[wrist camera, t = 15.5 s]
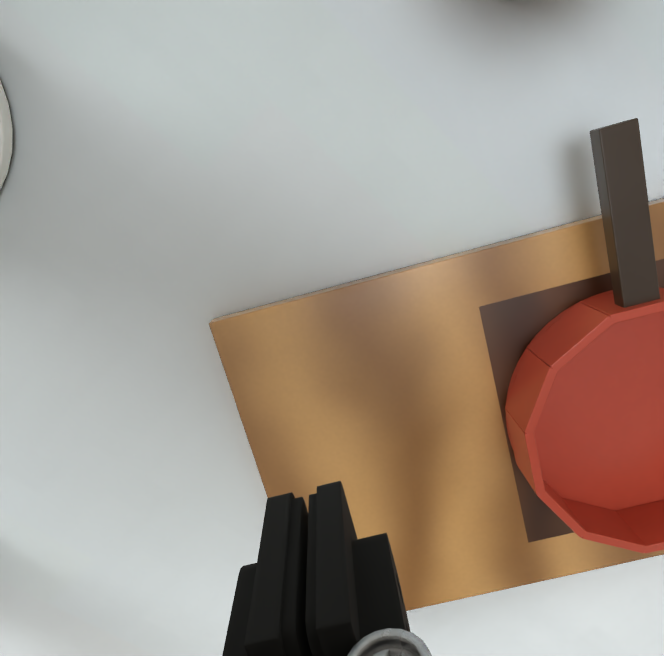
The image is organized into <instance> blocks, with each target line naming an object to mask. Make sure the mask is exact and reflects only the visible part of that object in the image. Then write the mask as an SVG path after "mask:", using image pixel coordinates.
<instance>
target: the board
mask: <svg viewBox="0 0 664 656" xmlns="http://www.w3.org/2000/svg"><path fill="white" fill-rule="evenodd" d="M648 204H649V212H650V220H651V228H652V236H653V245H654V253H655V261H656V269H657V277H658V285H659V287H661V288H664V198H662V199H658V200H655V201H651V202H648ZM610 290H613V289H612V282H611V275H610V268H609V261H608V254H607V248H606V241H605V234H604V227H603V220H602V215H599V216H595V217H591V218H587V219H584V220H580V221H576V222H572V223H569V224H565V225H561V226H558V227H554V228H550V229H546V230H543V231H539V232H535V233H531V234H528V235H524V236H520V237H517V238H513V239H509V240H505V241H502V242H498V243H494V244H490V245H487V246H483V247H479V248H475V249H472V250H468V251H464V252H461V253H457V254H453V255H449V256H446V257H442V258H438V259H434V260H431V261H427V262H423V263H420V264H416V265H412V266H408V267H405V268H401V269H397V270H393V271H390V272H386V273H382V274H378V275H375V276H371V277H367V278H364V279H360V280H356V281H352V282H349V283H345V284H341V285H337V286H334V287H330V288H326V289H322V290H319V291H315V292H311V293H308V294H304V295H300V296H296V297H293V298H289V299H285V300H281V301H278V302H274V303H270V304H267V305H263V306H259V307H255V308H252V309H248V310H244V311H240V312H237V313H233V314H229V315H225V316H222V317H218V318H214V319H213V320H212V321H211V322H210V323H209V326H210V329H211V332H212V334H213V337H214V340H215V343H216V346H217V349H218V352H219V355H220V358H221V361H222V364H223V367H224V370H225V373H226V376H227V379H228V382H229V385H230V388H231V391H232V393H233V396H234V399H235V402H236V405H237V408H238V411H239V414H240V417H241V420H242V423H243V426H244V429H245V432H246V435H247V438H248V441H249V444H250V447H251V450H252V452H253V455H254V458H255V461H256V464H257V467H258V470H259V473H260V476H261V479H262V482H263V485H264V488H265V491H266V494H267V497H268V498H270V497H274V496H278V495H282V494H287V493H291V492H292V493H293V494H294V496H295V498H298V497H303V499H304V501H305V504H306V507H307V511H308V507H309V495H311V494H315V493H317V486H320V485H324V484H329V483H333V482H337V481H341V483H342V485H343V489H344V492H345V496H346V499H347V503H348V506H349V510H350V514H351V517H352V521H353V524H354V528H355V532H356V535H357V539H361V538H366V537H370V536H374V535H378V534H383V533H387V535H388V539H389V542H390V546H391V550H392V554H393V557H394V561H395V565H396V569H397V573H398V577H399V582H400V586H401V590H402V595H403V599H404V604H405V609H406V611H408V610H412V609H417V608H421V607H426V606H431V605H435V604H440V603H444V602H449V601H453V600H458V599H462V598H467V597H472V596H476V595H481V594H485V593H490V592H494V591H499V590H503V589H508V588H512V587H517V586H522V585H526V584H531V583H535V582H540V581H544V580H549V579H553V578H558V577H563V576H567V575H572V574H576V573H581V572H585V571H590V570H594V569H599V568H604V567H608V566H613V565H617V564H622V563H626V562H631V561H635V560H640V559H644V558H649V557H654V556H658V555H663V554H664V550H660V551H655V552H651V553H639V552H635V551H631V550H627V549H623V548H619V547H615V546H611V545H606V544H602V543H598V542H594V541H590V540H586V539H582V538H580V537H579V536H578V535H577V534H576V533H575V532H574V531H573V530H572V529H571V528H570V527H569V526H568V525H567V524H565V523H564V522H563V521H562V520H561V519H560V518H559V517H558V516H557V515H556V514H555V513H554V512H553V511H552V510H551V509H550V508H549V507H548V506H547V505H546V504H545V503H544V502H543V501H542V500H541V499H540V498H539V497H538V496H537V495H536V493H535V492H534V490H533V489H532V487H531V486H530V484H529V483H528V481H527V480H526V478H525V476H524V475H523V473H522V472H521V470H520V469H519V467H518V466H517V464H516V461H515V456H514V451H513V448H512V446H511V443H510V440H509V436H508V433H507V425H506V412H505V406H506V399H507V392H508V388H509V384H510V381H511V377H512V374H513V372H514V370H515V367H516V365H517V363H518V361H519V359H520V357H521V356H522V354H523V352H524V351H525V349H526V347H527V346H528V345H529V344H530V342H531V341H532V340H533V338H534V337H535V336H536V335H537V334H538V333H539V332H540V331H541V330H542V329H543V328H544V327H545V326H546V325H547V324H548V323H549V322H550V321H551V320H552V319H554V318H555V317H556V316H557V315H559V314H560V313H561V312H563V311H564V310H566V309H568V308H569V307H571V306H573V305H574V304H576V303H578V302H580V301H582V300H584V299H587V298H589V297H591V296H594V295H597V294H600V293H603V292H606V291H610Z"/></svg>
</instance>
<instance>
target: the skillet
mask: <svg viewBox="0 0 664 656" xmlns="http://www.w3.org/2000/svg"><path fill="white" fill-rule="evenodd" d="M590 137H591V144H592V151H593V158H594V165H595V172H596V179H597V186H598V192H599V199H600V206H601V213H602V220H603V227H604V234H605V241H606V248H607V254H608V261H609V268H610V275H611V282H612V289H613V290H610V291H606V292H603V293H600V294H597V295H594V296H591V297H589V298H587V299H584V300H582V301H580V302H578V303H576V304H574V305H573V306H571V307H569V308H568V309H566V310H564V311H563V312H561V313H560V314H559V315H557V316H556V317H555V318H554V319H552V320H551V321H550V322H549V323H548V324H547V325H546V326H545V327H544V328H543V329H542V330H541V331H540V332H539V333H538V334H537V335H536V336H535V337H534V338H533V340H532V341H531V342H530V344H529V345H528V346H527V347H526V349H525V351H524V352H523V354H522V356H521V357H520V359H519V361H518V363H517V365H516V367H515V370H514V372H513V374H512V377H511V381H510V384H509V388H508V392H507V399H506V406H505V412H506V425H507V433H508V436H509V440H510V443H511V446H512V448H513V451H514V456H515V461H516V464H517V466H518V467H519V469H520V470H521V472H522V473H523V475H524V476H525V478H526V480H527V481H528V483H529V484H530V486H531V487H532V489H533V490H534V492H535V493H536V495H537V496H538V497H539V498H540V499H541V500H542V501H543V502H544V503H545V504H546V505H547V506H548V507H549V508H550V509H551V510H552V511H553V512H554V513H555V514H556V515H557V516H558V517H559V518H560V519H561V520H562V521H563V522H564V523H565V524H567V525H568V526H569V527H570V528H571V529H572V530H573V531H574V532H575V533H576V534H577V535H578V536H579V537H580V538H582V539H586V540H590V541H594V542H598V543H602V544H606V545H611V546H615V547H619V548H623V549H627V550H631V551H635V552H639V553H651V552H655V551H660V550H664V288H661V287H659V285H658V277H657V269H656V261H655V253H654V245H653V236H652V228H651V220H650V212H649V204H648V196H647V188H646V180H645V172H644V164H643V156H642V148H641V139H640V131H639V123H638V118H635V119H631V120H627V121H623V122H620V123H616V124H612V125H609V126H605V127H602V128H598V129H595V130H591V131H590Z"/></svg>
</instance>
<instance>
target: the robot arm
mask: <svg viewBox="0 0 664 656" xmlns="http://www.w3.org/2000/svg"><path fill="white" fill-rule="evenodd" d="M12 136H13V127H12V121H11V115H10V109H9V104H8V101H7V98H6V95H5V92H4V89H3V86H2V84H1V81H0V189H1V187H2V185H3V183H4V180H5V178H6V176H7V173H8V169H9V164H10V160H11V155H12ZM222 656H431V653H430V651H429V649H428V648H427V646H426V645H425V643H424V642H423V640H422V639H420V638H419V637H418V636H416V635H415V634H414V633H411V632H410V628H409V623H408V618H407V614H406V609H405V604H404V599H403V595H402V590H401V586H400V582H399V577H398V573H397V569H396V565H395V561H394V557H393V554H392V550H391V546H390V542H389V539H388V535H387V533H383V534H378V535H374V536H370V537H366V538H361V539H357V535H356V532H355V528H354V524H353V521H352V517H351V514H350V510H349V506H348V503H347V499H346V496H345V492H344V489H343V485H342V483H341V481H337V482H333V483H329V484H324V485H320V486H317V493H315V494H311V495H309V507H308V511H307V507H306V504H305V501H304V499H303V497H298V498H295V496H294V494H293V493H292V492H291V493H287V494H282V495H278V496H274V497H270V498H268V499H267V504H266V511H265V517H264V523H263V529H262V536H261V542H260V548H259V555H258V561H257V563H254V564H250V565H246V566H243V567H242V568H241V569H240V572H239V576H238V581H237V586H236V591H235V596H234V601H233V606H232V611H231V616H230V621H229V626H228V631H227V636H226V641H225V646H224V651H223V655H222Z"/></svg>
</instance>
